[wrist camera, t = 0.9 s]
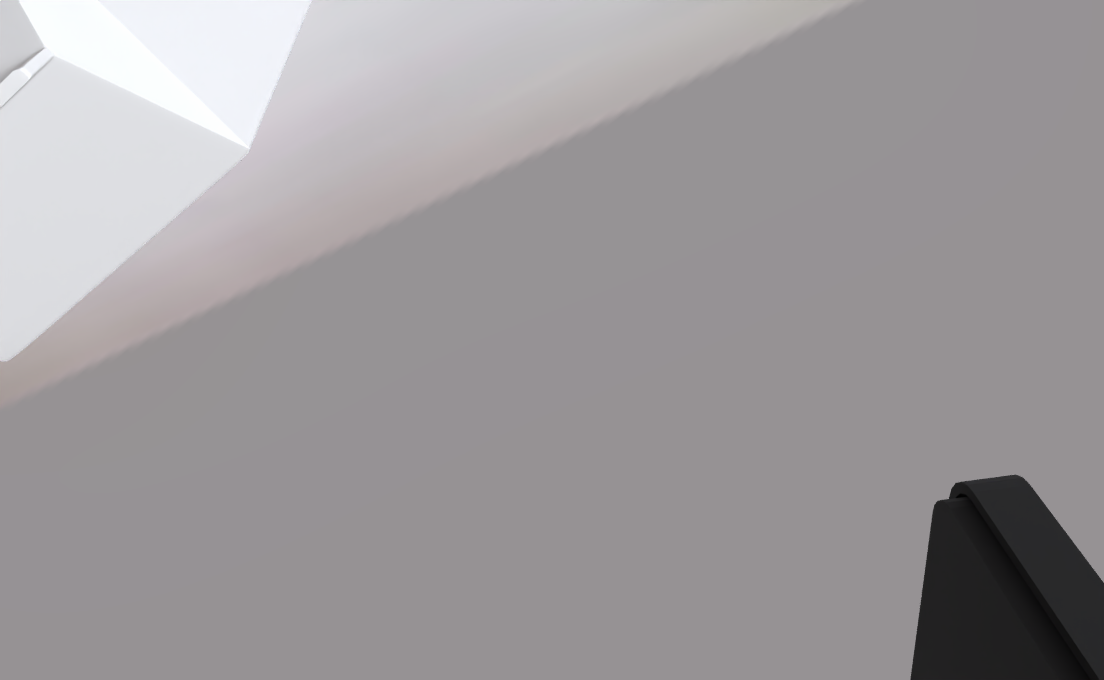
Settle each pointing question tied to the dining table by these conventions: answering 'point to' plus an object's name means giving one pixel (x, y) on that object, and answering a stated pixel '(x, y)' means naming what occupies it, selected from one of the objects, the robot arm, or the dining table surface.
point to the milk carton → (118, 132)
